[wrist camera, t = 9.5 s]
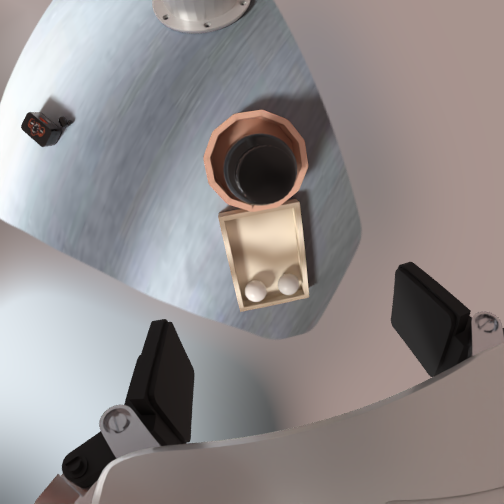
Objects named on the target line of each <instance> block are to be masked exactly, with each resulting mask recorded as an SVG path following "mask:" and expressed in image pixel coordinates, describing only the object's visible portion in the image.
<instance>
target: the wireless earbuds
mask: <svg viewBox="0 0 504 504" xmlns="http://www.w3.org/2000/svg"><path fill="white" fill-rule="evenodd" d="M59 123H60V125H61V126H62V128H63V129H64V128H66V127H68V125H69V126H70V125H71V123H72V121H71V120H69V121H68V122H67V120H66V118H65V117H60V118H59ZM21 128H22V130H23V131H24V132H25V133H27V134H28V135H29V136H30V137H31V138H32V139H33V140H35V141H36V142H37V143H38V144H39V145H40V146H42V147H46V146H52V145H55V144H56V142H57V140H58V139H59V137H60V135H61V133H62V130H61V129H60V128H59V127H58V126H57V125H55V124H54V123H53V122H52V121H50V120H49V119H48V118H47V117H45V116H44V115H43V114H42V113H40V112H29V113H27V115H26V117H25V119H24V121H23V123H22V125H21Z"/></svg>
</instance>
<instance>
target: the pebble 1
mask: <svg viewBox="0 0 504 504" xmlns="http://www.w3.org/2000/svg"><path fill="white" fill-rule="evenodd" d="M266 293H267V289H266V286H265V285H264V283H262V282H261V281H258V280H254V281H251V282H249V283H248V284H247V285H246V288H245V295H246V297H247V298H248V299H249V300H250V301H252V302H259V301H261V300H263V299H264V298H265V296H266Z"/></svg>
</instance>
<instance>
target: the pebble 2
mask: <svg viewBox="0 0 504 504" xmlns="http://www.w3.org/2000/svg"><path fill="white" fill-rule="evenodd" d="M298 288H299V280H298V278H297V277H296V276H295V275H293V274H284V275H282V276H281V277H280V278H279V280H278V289H279V290H280V292H281V293H283V294H285V295H292V294H294V293H296V292H297V290H298Z"/></svg>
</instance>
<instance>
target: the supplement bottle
mask: <svg viewBox="0 0 504 504" xmlns="http://www.w3.org/2000/svg"><path fill="white" fill-rule="evenodd" d="M223 172H224V178H225V181H226V184H227V186H228V188H229V189H230V191H231V192H232V193H233V194H234V195H235V196H236V197H237V198H238V199H240V200H241V201H243V202H245V203H248V204H251V205H257V206H263V205H269V204H273V203H275V202H279V201H280V200H281V199H284V197H285V196H287V195H288V194H289V192H290V191H291V190H292V187H293V186H294V183H295V180H296V177H297V162H296V158H295V156H294V153H293V152H292V150H291V149H290V147H289V146H288V145H287V144H286V143H285V142H284V141H282V140H281V139H279V138H277V137H275V136H273V135H269V134H263V133H258V134H251V135H246V136H243V137H240V138H239V139H237V140H236V141H234V142H233V143H232V144H231V145H230V147H229V148H228V150H227V152H226V154H225V158H224V167H223Z"/></svg>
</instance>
